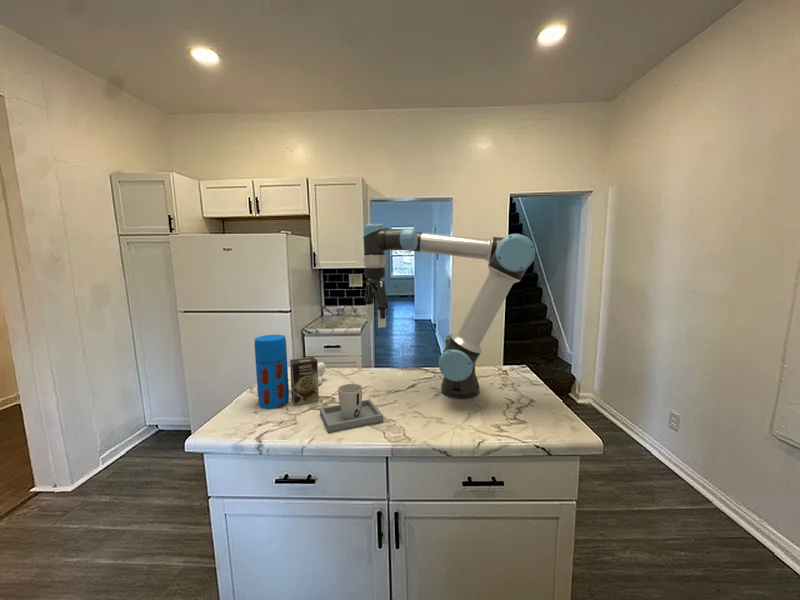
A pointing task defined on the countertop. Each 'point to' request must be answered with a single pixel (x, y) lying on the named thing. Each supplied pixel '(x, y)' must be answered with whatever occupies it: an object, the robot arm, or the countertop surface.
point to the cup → (350, 400)
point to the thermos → (272, 371)
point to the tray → (337, 422)
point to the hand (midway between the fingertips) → (375, 324)
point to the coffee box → (304, 381)
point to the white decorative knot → (321, 371)
